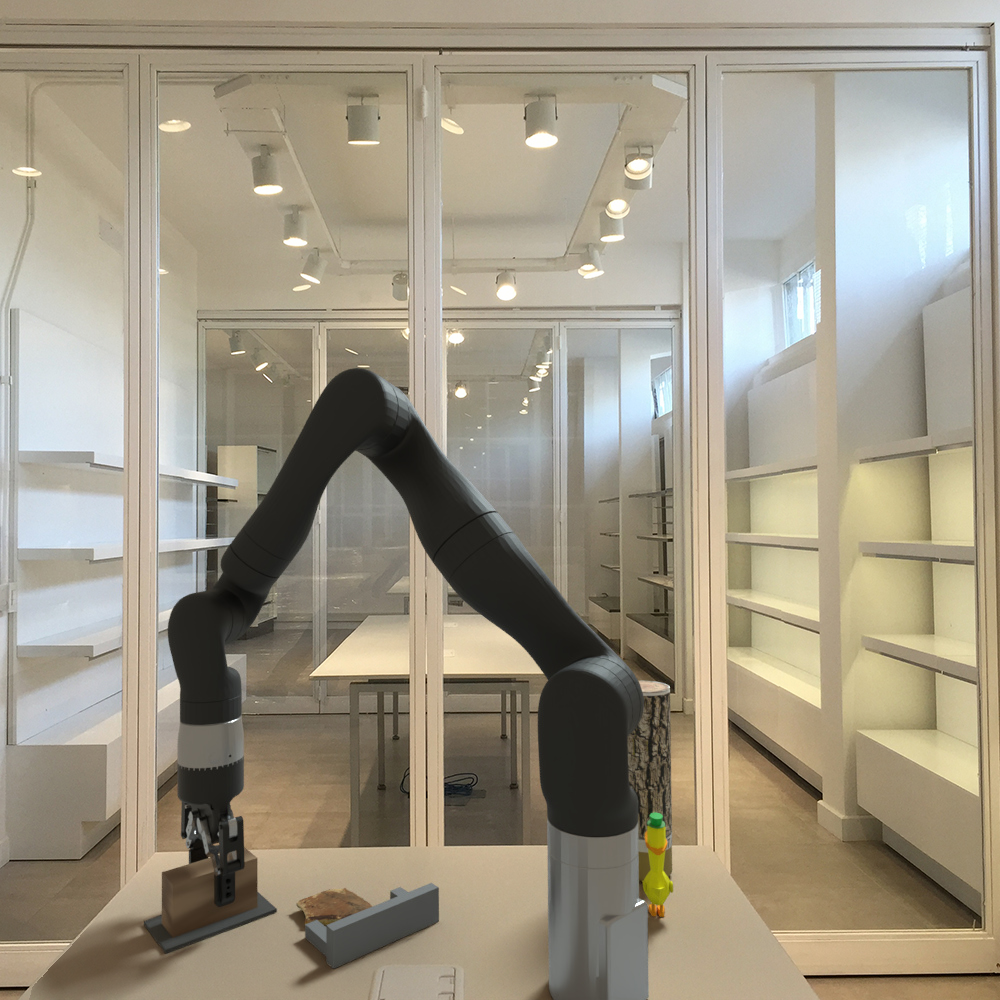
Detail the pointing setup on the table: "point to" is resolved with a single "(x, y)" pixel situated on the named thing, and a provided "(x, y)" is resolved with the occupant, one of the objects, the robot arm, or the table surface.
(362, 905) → the shard
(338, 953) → the dock
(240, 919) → the rest mat
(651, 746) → the bark log stump
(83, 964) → the table surface
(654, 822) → the toy figure
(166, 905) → the block
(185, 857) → the table surface
